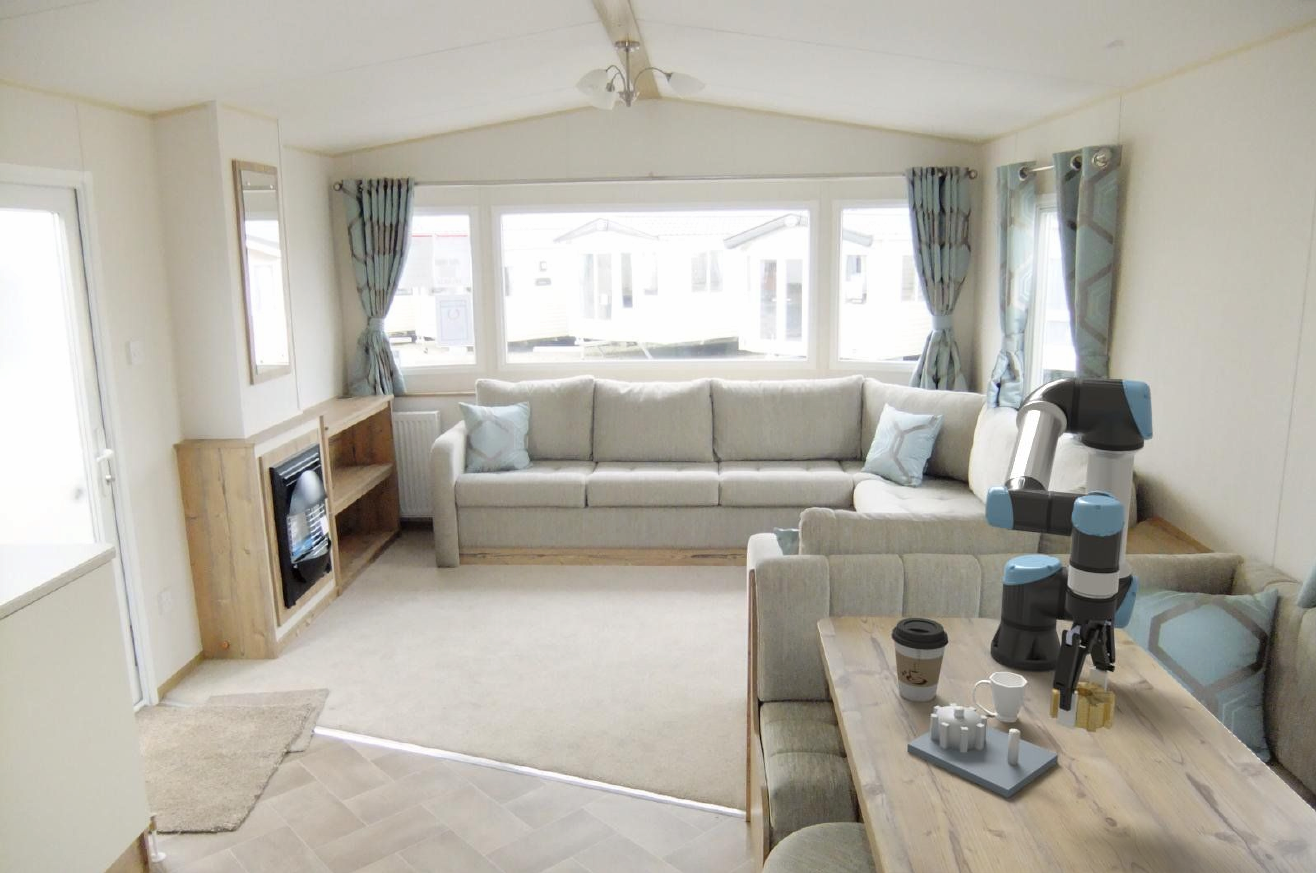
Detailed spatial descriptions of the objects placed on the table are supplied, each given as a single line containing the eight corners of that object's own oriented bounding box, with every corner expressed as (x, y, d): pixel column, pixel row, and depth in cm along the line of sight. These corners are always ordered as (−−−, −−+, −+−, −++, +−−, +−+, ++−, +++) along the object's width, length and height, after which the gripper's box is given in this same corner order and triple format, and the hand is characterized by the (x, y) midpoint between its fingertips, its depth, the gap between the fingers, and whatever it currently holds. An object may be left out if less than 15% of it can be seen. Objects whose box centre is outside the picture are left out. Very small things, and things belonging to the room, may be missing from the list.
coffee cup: (885, 701, 191) (887, 632, 188) (893, 677, 202) (895, 612, 199) (942, 710, 187) (946, 640, 184) (948, 686, 197) (951, 619, 194)
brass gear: (1066, 697, 164) (1068, 673, 164) (1124, 717, 157) (1126, 693, 156) (1038, 715, 158) (1040, 691, 157) (1096, 738, 151) (1098, 712, 150)
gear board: (958, 720, 183) (960, 685, 182) (1057, 761, 168) (1060, 723, 167) (907, 750, 172) (908, 713, 171) (1007, 797, 157) (1010, 757, 156)
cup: (1026, 728, 180) (1028, 689, 178) (971, 720, 183) (973, 682, 181) (1024, 711, 187) (1026, 673, 185) (971, 704, 190) (973, 667, 188)
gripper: (1100, 568, 163) (1090, 686, 167) (1035, 601, 149) (1026, 729, 153) (1145, 580, 157) (1133, 701, 162) (1081, 615, 143) (1070, 747, 148)
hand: (1081, 715), depth 158 cm, fingers closed on brass gear, 10 cm apart
